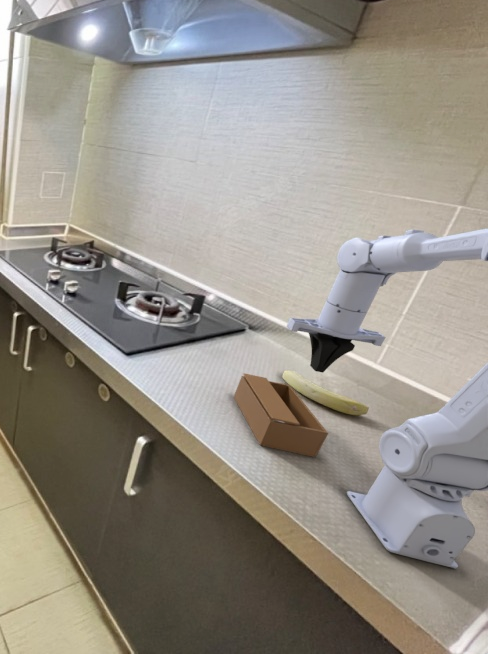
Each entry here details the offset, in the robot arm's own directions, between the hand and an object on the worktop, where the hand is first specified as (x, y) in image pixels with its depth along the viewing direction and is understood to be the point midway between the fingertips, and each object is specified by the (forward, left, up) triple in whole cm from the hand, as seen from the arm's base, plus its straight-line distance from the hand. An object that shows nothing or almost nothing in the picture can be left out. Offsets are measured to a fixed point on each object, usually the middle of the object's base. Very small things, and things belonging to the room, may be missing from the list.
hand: (316, 369), depth 75 cm
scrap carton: (-6, +7, -10) cm, 14 cm away
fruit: (+8, -8, -11) cm, 15 cm away
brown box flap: (-6, +9, -5) cm, 12 cm away
